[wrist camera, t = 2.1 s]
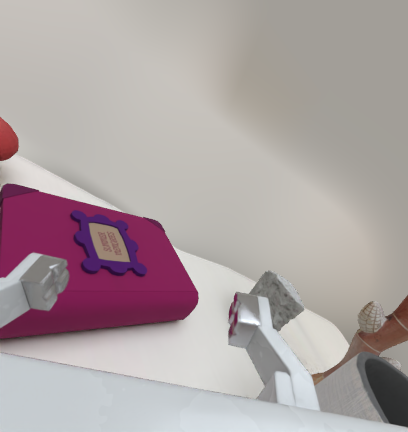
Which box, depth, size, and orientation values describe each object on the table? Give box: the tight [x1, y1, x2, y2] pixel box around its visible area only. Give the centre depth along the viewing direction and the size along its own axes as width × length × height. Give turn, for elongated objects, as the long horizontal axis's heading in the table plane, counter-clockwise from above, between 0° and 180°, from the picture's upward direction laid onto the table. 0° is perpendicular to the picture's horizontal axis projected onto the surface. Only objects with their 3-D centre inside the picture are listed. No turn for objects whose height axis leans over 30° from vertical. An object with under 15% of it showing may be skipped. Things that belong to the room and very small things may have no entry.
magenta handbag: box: [0, 184, 199, 339], centre depth 40 cm, size 21×28×8 cm
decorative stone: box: [249, 271, 304, 331], centre depth 55 cm, size 10×9×15 cm
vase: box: [311, 296, 408, 386], centre depth 45 cm, size 11×7×30 cm
